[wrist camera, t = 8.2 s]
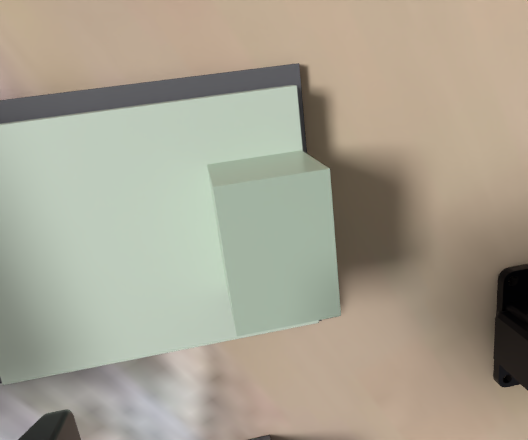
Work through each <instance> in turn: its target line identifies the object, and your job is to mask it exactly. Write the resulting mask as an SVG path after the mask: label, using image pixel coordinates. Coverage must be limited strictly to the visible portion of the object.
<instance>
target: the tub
mask: <svg viewBox="0 0 528 440" xmlns="http://www.w3.org/2000/svg"><path fill="white" fill-rule="evenodd" d="M250 440H271V439H270V435H268V436H263V437H259V438H255V439H250Z"/></svg>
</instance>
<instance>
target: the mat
mask: <svg viewBox="0 0 528 440" xmlns="http://www.w3.org/2000/svg"><path fill="white" fill-rule="evenodd" d="M288 85H296V86H297V95H298V105H299V116H300V127H301V138H302V148H303V152H305V153H306V154H307V148H306V137H305V125H304V114H303V103H302V91H301V80H300V68H299V63H298V64H290V65H282V66H274V67H266V68H257V69H249V70H241V71H233V72H225V73H217V74H209V75H201V76H193V77H185V78H177V79H169V80H161V81H153V82H145V83H137V84H129V85H120V86H112V87H104V88H96V89H88V90H80V91H72V92H64V93H56V94H48V95H40V96H32V97H24V98H16V99H8V100H0V124H2V123H10V122H17V121H25V120H32V119H40V118H47V117H55V116H62V115H70V114H77V113H85V112H92V111H100V110H107V109H115V108H123V107H130V106H138V105H145V104H153V103H160V102H168V101H175V100H183V99H190V98H198V97H205V96H213V95H220V94H228V93H235V92H243V91H250V90H258V89H266V88H273V87H281V86H288ZM319 321H322V320H319ZM0 383H2V381H1V378H0Z"/></svg>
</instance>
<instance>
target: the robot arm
mask: <svg viewBox="0 0 528 440" xmlns="http://www.w3.org/2000/svg"><path fill="white" fill-rule="evenodd" d="M512 276H513V277H512ZM511 277H512V279H511V281H509V279H510V278H511ZM508 281H509V282H508ZM493 377H494V380H495V381H496V382H497V383H498V384H499V385H500V386H501V387H510V386H514V385H519V384H521V385H522V386H523V387H525V388H526V389H527V390H528V264H525V265H520V266H515V267H510V268H506V269H504V270H503V271H502V272H501V273H500V275H499V278H498V291H497V312H496V318H495V339H494V373H493ZM18 440H81V438H80V435H79V431H78V428H77V425H76V422H75V418H74V415H73V414H72V412H71V411H70V410H61V411H56V412H52V413H47V414H45V415H43V416H42V417H41V418H40V419H39V420H38V421H37V422H36V423H35V424H34V425H33V426H32V427H31V428H30V429H29V430H28V431H27V432H26V433H25V434H24V435H22V436H21V437H20V438H19V439H18Z"/></svg>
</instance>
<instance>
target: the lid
mask: <svg viewBox="0 0 528 440" xmlns="http://www.w3.org/2000/svg"><path fill="white" fill-rule="evenodd" d="M337 316H341V310H340V297H339V283H338V270H337V257H336V243H335V230H334V217H333V204H332V190H331V177H330V168H328V167H327V166H325V165H323V164H322V163H320V162H319V161H317V160H316V159H314V158H313V157H311V156H309V155H308V154H306V153H305V152H303V148H302V138H301V127H300V116H299V105H298V95H297V86H296V85H288V86H281V87H273V88H266V89H258V90H250V91H243V92H235V93H228V94H220V95H213V96H205V97H198V98H190V99H183V100H175V101H168V102H160V103H153V104H145V105H138V106H130V107H123V108H115V109H107V110H100V111H92V112H85V113H77V114H70V115H62V116H55V117H47V118H40V119H32V120H25V121H17V122H10V123H2V124H0V378H1V381H2V384H3V385H7V384H12V383H17V382H22V381H27V380H32V379H37V378H42V377H47V376H52V375H57V374H63V373H68V372H73V371H78V370H83V369H88V368H93V367H98V366H103V365H108V364H113V363H118V362H123V361H128V360H133V359H138V358H143V357H148V356H153V355H158V354H163V353H168V352H173V351H178V350H184V349H189V348H194V347H199V346H204V345H209V344H214V343H219V342H224V341H229V340H234V339H239V338H244V337H249V336H254V335H259V334H264V333H269V332H274V331H279V330H284V329H289V328H294V327H299V326H304V325H310V324H315V323H319V320H322V319H327V318H332V317H337Z"/></svg>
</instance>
